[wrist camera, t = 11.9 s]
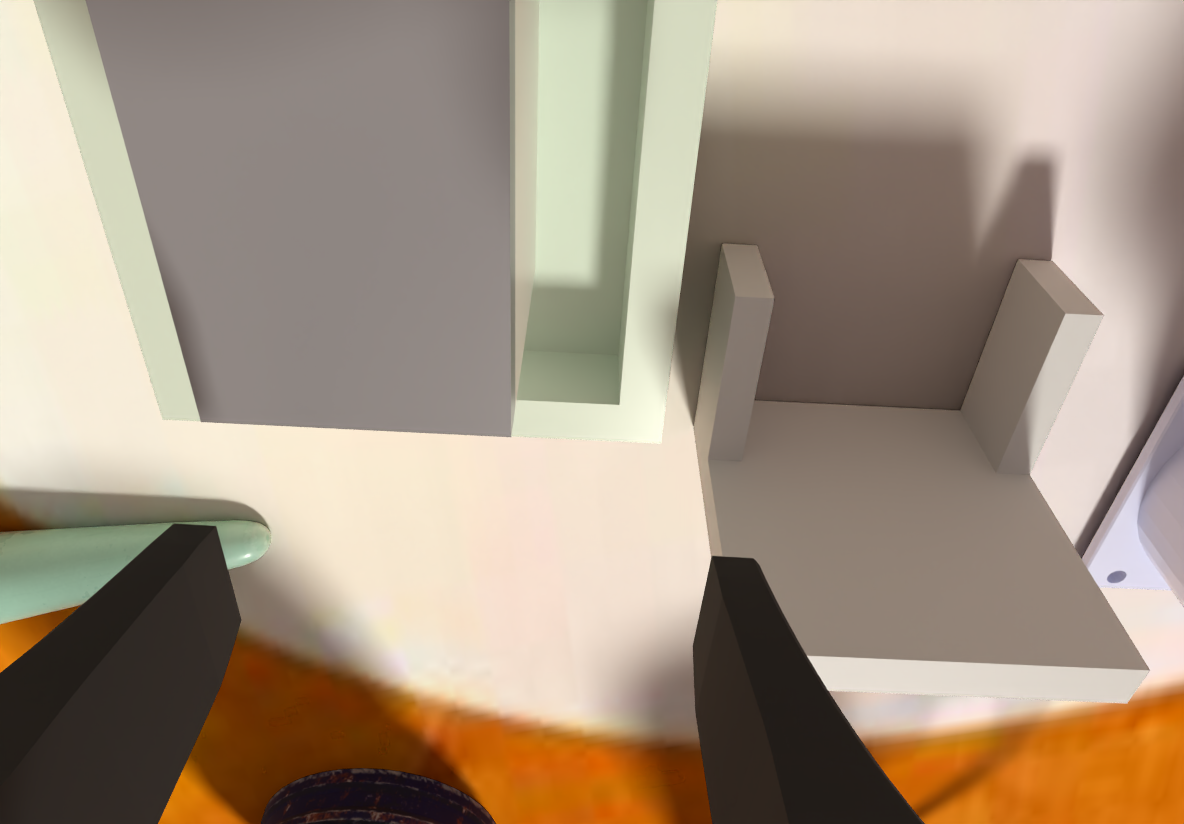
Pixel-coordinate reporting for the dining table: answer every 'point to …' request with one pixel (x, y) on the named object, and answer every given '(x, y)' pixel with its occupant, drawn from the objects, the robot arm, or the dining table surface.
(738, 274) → the dock
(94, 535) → the long green cone
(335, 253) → the tall grey beige-topped block
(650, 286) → the tray
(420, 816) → the storage jar
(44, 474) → the dining table surface
